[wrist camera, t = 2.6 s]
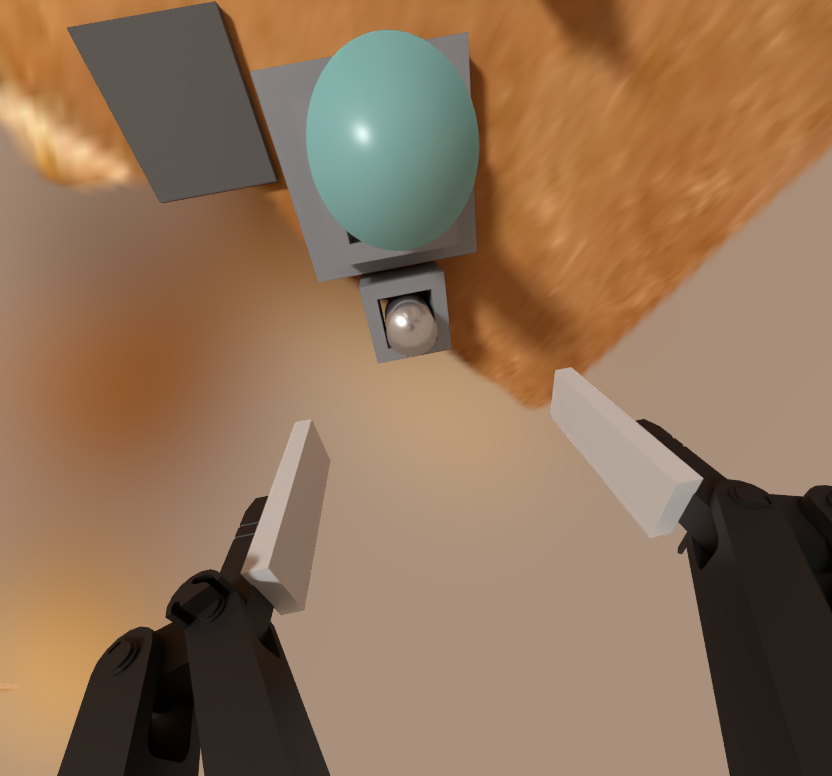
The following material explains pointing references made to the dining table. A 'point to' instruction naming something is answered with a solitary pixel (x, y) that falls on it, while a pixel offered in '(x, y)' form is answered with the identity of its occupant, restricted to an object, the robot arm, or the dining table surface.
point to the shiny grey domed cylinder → (410, 325)
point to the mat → (179, 99)
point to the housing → (326, 239)
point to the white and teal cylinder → (392, 140)
